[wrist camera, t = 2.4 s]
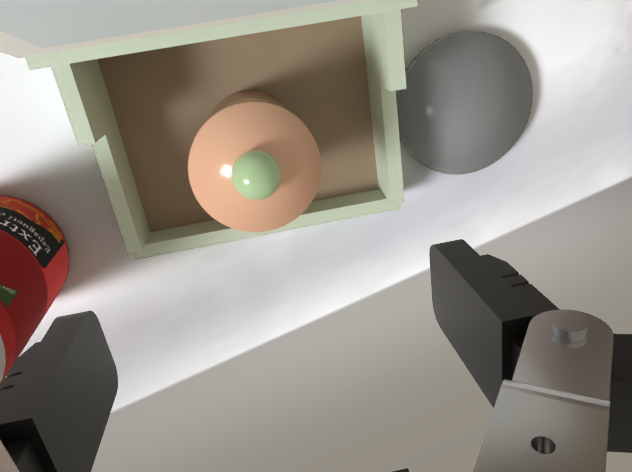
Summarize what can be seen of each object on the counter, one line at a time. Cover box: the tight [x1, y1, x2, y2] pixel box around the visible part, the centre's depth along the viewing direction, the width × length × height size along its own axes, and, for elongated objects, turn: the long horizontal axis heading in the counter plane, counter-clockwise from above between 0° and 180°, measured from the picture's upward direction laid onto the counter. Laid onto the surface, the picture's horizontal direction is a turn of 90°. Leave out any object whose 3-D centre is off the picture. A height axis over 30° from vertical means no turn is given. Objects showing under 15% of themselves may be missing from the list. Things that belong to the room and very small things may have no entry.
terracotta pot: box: [188, 90, 322, 232], centre depth 26 cm, size 6×6×9 cm
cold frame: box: [25, 0, 418, 259], centre depth 27 cm, size 12×16×8 cm
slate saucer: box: [396, 32, 532, 174], centre depth 31 cm, size 8×8×1 cm
